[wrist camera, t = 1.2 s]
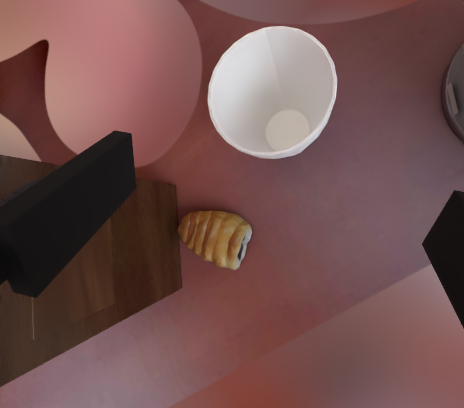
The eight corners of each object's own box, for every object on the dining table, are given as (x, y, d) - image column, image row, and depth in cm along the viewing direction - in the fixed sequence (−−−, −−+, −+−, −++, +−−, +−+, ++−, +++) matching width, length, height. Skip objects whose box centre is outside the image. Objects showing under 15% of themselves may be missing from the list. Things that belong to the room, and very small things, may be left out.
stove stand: (178, 184, 41) (-91, 137, 15) (184, 288, 41) (-85, 437, 14) (92, 193, 45) (-241, 169, 19) (96, 287, 45) (-241, 402, 18)
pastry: (178, 247, 41) (164, 250, 37) (191, 199, 41) (178, 198, 37) (242, 271, 38) (234, 277, 35) (257, 219, 38) (250, 220, 34)
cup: (247, 178, 38) (209, 162, 26) (244, 97, 39) (204, 40, 26) (335, 171, 35) (341, 148, 23) (329, 83, 36) (333, 11, 23)
